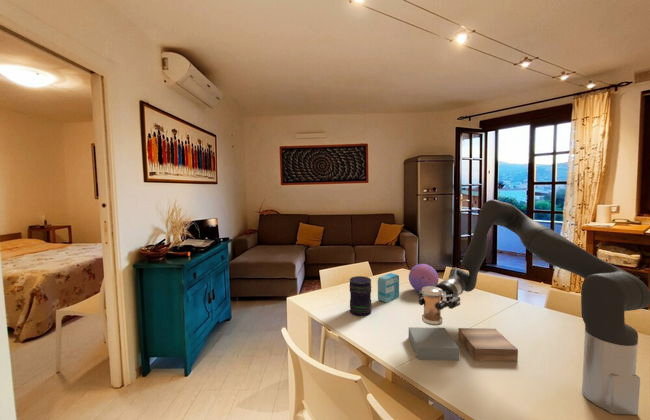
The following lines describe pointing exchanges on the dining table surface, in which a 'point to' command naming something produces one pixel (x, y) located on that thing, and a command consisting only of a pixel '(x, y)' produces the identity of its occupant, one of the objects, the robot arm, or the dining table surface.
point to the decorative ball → (423, 276)
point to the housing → (432, 305)
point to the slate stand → (433, 344)
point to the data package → (388, 287)
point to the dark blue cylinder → (360, 296)
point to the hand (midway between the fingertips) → (429, 304)
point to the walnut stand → (487, 344)
